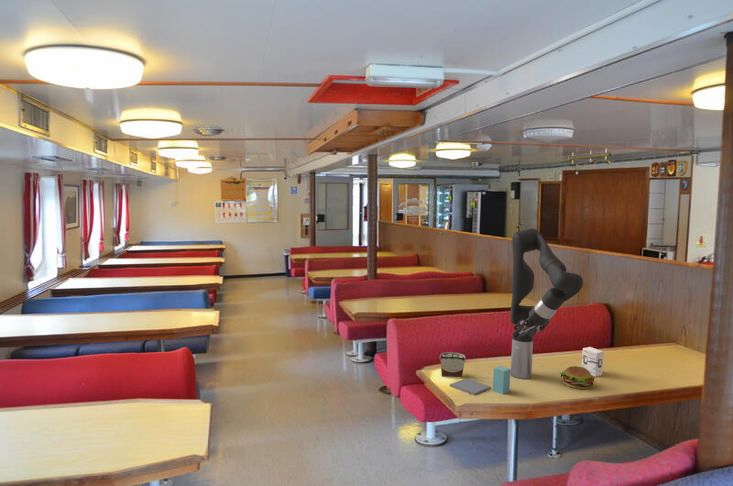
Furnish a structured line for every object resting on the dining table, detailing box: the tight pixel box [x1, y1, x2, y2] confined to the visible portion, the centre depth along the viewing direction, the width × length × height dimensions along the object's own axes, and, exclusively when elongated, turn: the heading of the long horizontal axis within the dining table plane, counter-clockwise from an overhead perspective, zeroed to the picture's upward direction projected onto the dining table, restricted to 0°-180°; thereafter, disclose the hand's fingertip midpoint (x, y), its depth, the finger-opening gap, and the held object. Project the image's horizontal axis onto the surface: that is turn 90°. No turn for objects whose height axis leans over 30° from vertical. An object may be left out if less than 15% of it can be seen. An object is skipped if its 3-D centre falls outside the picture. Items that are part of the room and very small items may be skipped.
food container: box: [438, 351, 467, 379], centre depth 236 cm, size 12×6×10 cm, turn 84°
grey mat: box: [449, 377, 492, 396], centre depth 221 cm, size 12×13×1 cm
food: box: [559, 365, 596, 390], centre depth 228 cm, size 14×14×8 cm
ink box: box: [580, 346, 604, 378], centre depth 243 cm, size 9×5×12 cm, turn 26°
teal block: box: [492, 365, 511, 395], centre depth 218 cm, size 5×5×10 cm
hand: (522, 336), depth 205 cm, fingers open, 8 cm apart
